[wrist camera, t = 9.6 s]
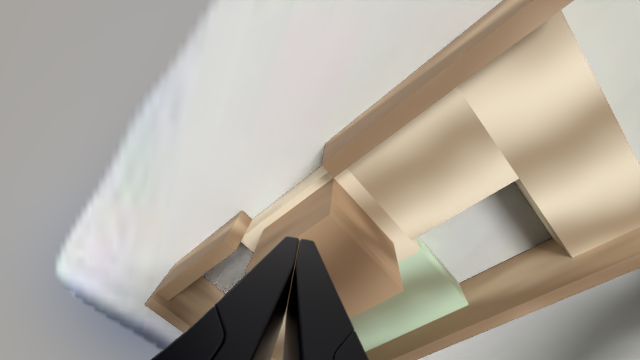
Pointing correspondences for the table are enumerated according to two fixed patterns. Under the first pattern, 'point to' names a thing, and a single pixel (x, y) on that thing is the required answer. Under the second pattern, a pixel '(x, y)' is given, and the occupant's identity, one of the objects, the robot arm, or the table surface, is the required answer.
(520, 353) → the table surface
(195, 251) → the box
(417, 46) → the table surface
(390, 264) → the block
